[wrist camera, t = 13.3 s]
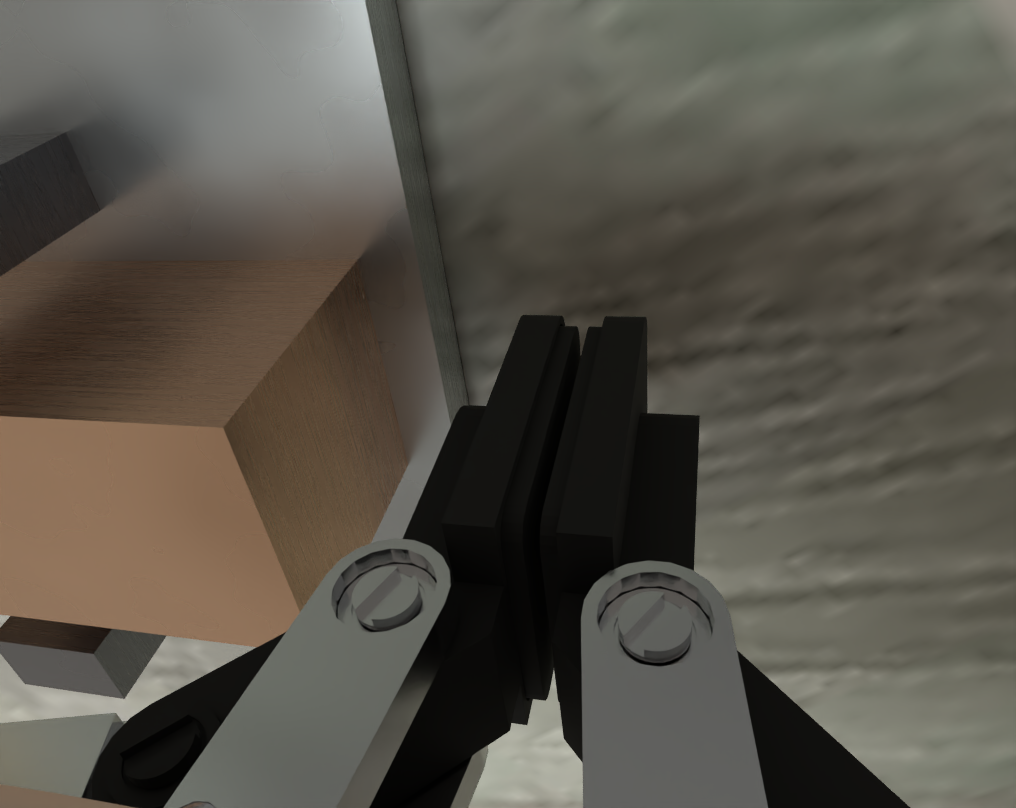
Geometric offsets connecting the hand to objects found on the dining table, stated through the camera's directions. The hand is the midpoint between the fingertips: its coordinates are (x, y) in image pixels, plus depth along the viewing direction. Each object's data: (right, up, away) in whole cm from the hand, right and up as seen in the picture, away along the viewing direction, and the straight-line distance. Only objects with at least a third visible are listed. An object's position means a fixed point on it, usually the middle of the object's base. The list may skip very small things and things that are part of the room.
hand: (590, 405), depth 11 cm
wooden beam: (-12, +1, +4) cm, 13 cm away
